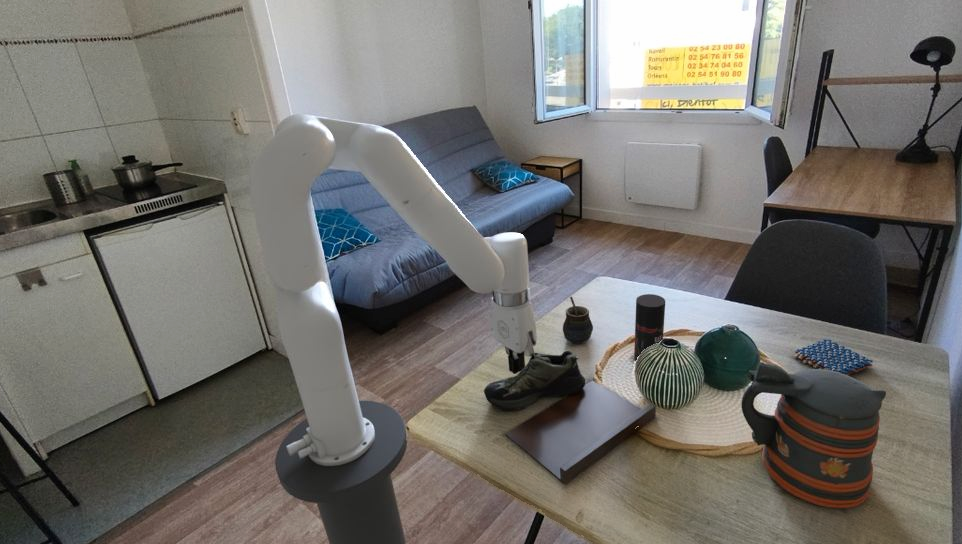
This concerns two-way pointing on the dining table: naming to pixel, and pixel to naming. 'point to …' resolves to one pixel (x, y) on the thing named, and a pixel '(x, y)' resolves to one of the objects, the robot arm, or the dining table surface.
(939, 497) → the dining table surface
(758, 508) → the dining table surface
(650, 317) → the deodorant
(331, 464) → the robot arm
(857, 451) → the beer stein
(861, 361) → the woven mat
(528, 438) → the shoe shelf
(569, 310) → the mate gourd
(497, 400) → the hiking shoe
